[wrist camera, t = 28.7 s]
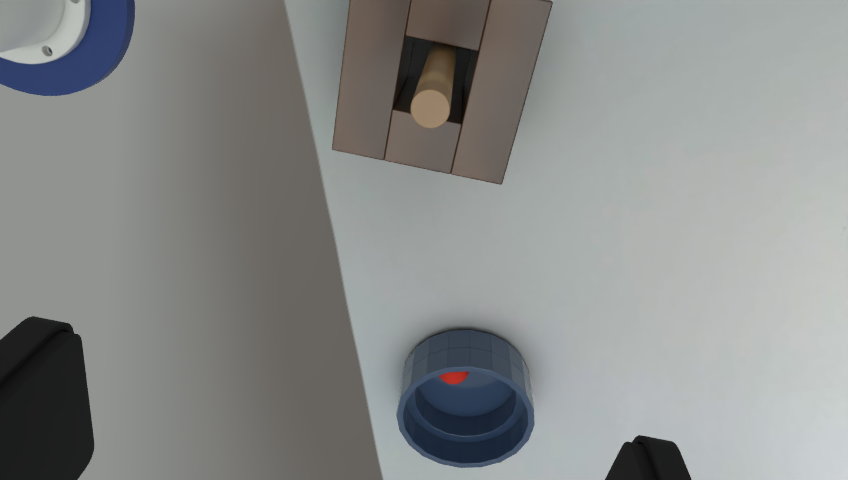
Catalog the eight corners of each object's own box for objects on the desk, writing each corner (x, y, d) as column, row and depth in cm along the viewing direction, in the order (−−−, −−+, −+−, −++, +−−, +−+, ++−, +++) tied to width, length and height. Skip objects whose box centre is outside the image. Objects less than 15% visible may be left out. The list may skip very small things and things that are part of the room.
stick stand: (357, 109, 46) (331, 149, 37) (379, -46, 41) (354, -42, 32) (495, 138, 46) (501, 185, 38) (535, -12, 41) (553, 1, 32)
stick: (433, 52, 44) (410, 128, 26) (434, 27, 43) (410, 88, 25) (457, 52, 44) (449, 129, 26) (458, 28, 43) (451, 89, 25)
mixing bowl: (394, 409, 61) (387, 453, 56) (415, 314, 55) (410, 354, 50) (509, 432, 62) (513, 478, 56) (543, 340, 56) (551, 382, 50)
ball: (440, 389, 53) (438, 383, 57) (474, 383, 54) (469, 378, 57) (435, 355, 54) (433, 351, 57) (468, 349, 54) (464, 346, 57)
